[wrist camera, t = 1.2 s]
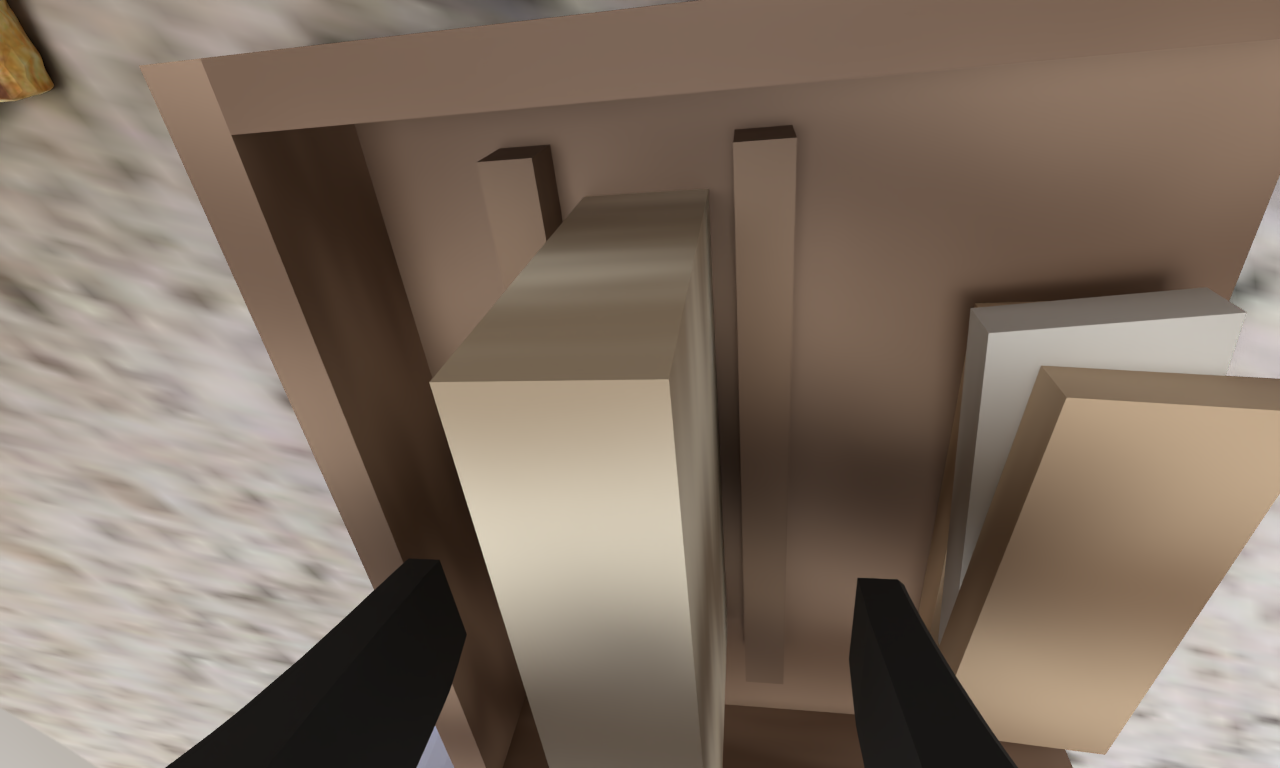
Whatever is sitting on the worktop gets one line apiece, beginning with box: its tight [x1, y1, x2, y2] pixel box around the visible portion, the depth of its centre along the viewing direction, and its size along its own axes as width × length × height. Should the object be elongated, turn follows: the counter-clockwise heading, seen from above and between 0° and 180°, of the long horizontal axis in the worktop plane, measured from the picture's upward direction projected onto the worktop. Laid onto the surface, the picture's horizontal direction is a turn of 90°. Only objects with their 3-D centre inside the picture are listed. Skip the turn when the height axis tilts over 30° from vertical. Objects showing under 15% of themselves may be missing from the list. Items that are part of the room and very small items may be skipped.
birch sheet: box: [429, 189, 727, 768], centre depth 12 cm, size 12×2×7 cm, turn 6°
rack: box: [139, 0, 1280, 768], centre depth 14 cm, size 20×17×4 cm
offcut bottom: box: [918, 301, 1046, 648], centre depth 14 cm, size 9×4×1 cm, turn 6°
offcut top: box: [939, 366, 1280, 755], centre depth 12 cm, size 9×4×1 cm, turn 1°
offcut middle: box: [938, 287, 1247, 645], centre depth 13 cm, size 9×4×1 cm, turn 10°
